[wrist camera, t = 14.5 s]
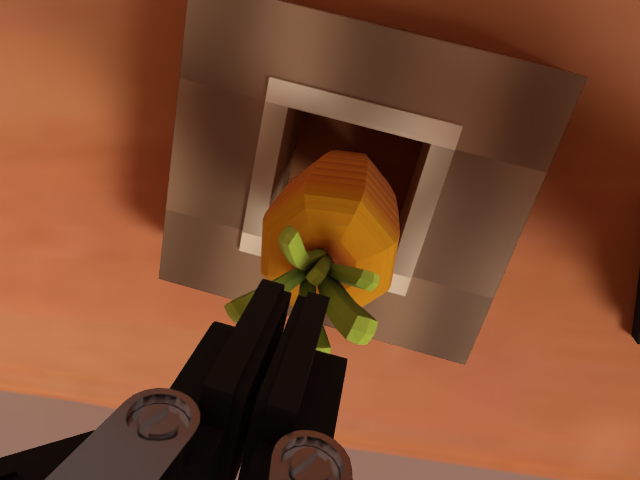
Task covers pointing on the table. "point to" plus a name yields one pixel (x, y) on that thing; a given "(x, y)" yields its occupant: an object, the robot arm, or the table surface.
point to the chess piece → (637, 316)
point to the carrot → (332, 241)
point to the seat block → (372, 112)
